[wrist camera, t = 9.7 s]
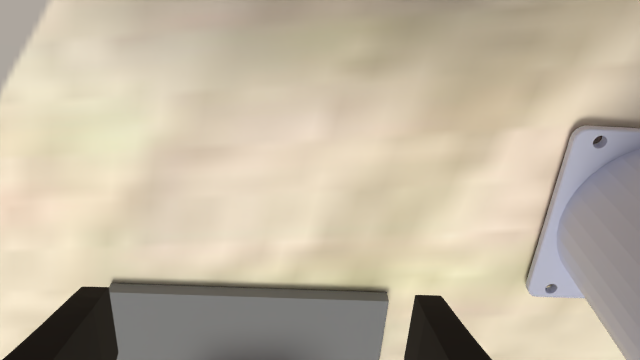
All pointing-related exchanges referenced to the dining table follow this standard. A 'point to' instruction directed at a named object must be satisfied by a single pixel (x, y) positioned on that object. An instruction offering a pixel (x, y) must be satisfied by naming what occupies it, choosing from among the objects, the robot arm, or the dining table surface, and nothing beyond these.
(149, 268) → the dining table surface
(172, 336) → the rubber mat
